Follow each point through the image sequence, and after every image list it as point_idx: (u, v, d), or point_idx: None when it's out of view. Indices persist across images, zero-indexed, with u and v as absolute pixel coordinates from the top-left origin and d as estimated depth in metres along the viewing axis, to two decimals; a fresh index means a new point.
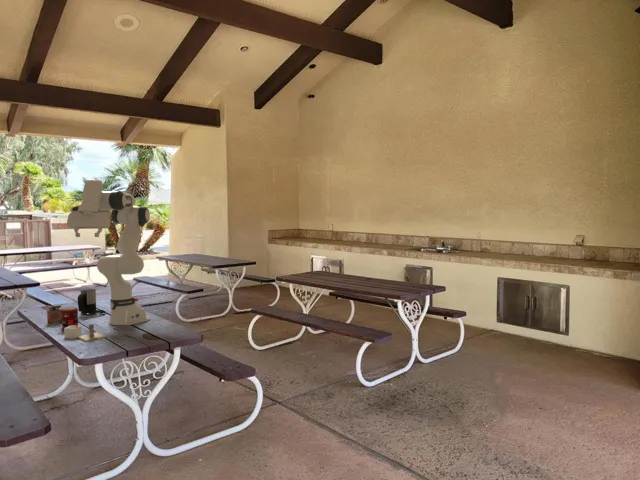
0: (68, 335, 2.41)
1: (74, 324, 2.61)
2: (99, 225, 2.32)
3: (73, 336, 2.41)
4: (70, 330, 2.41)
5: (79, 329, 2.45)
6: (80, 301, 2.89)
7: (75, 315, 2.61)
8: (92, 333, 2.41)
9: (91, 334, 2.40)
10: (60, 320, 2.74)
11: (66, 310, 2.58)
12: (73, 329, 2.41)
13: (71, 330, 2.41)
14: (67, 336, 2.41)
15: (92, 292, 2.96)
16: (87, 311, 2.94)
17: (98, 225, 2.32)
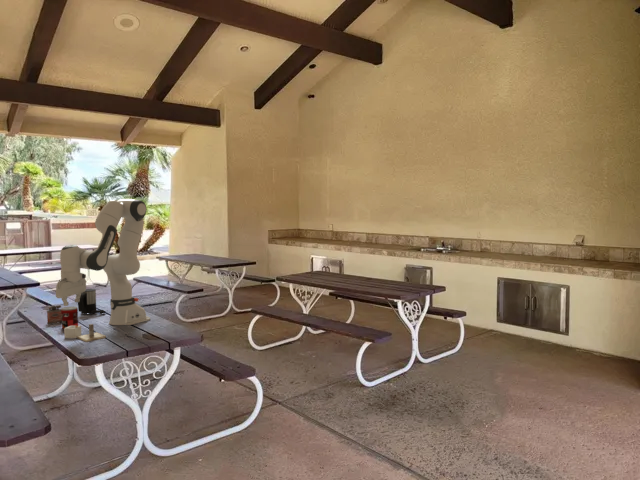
0: (68, 335, 2.41)
1: (74, 324, 2.61)
2: None
3: (73, 336, 2.41)
4: (70, 330, 2.41)
5: (79, 329, 2.45)
6: (80, 301, 2.89)
7: (75, 315, 2.61)
8: (92, 333, 2.41)
9: (91, 334, 2.40)
10: (60, 320, 2.74)
11: (66, 310, 2.58)
12: (73, 329, 2.41)
13: (71, 330, 2.41)
14: (67, 336, 2.41)
15: (92, 292, 2.96)
16: (87, 311, 2.94)
17: None
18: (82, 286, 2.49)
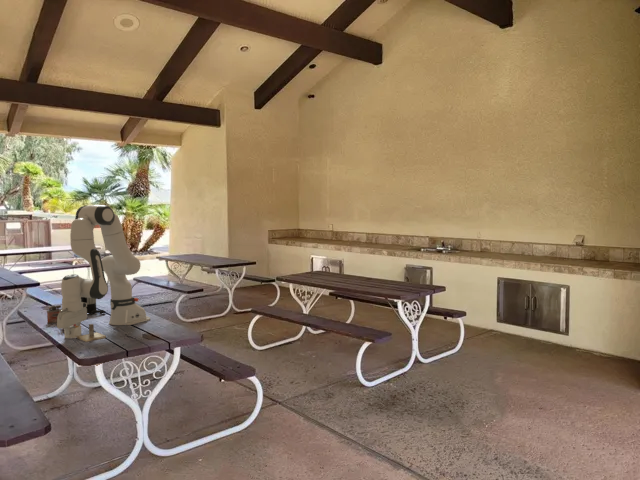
0: (68, 335, 2.41)
1: None
2: None
3: (73, 336, 2.41)
4: (70, 330, 2.41)
5: (79, 329, 2.45)
6: None
7: None
8: (92, 333, 2.41)
9: (91, 334, 2.40)
10: None
11: None
12: (73, 329, 2.41)
13: (71, 330, 2.41)
14: (67, 336, 2.41)
15: None
16: (87, 311, 2.94)
17: None
18: (83, 315, 2.50)
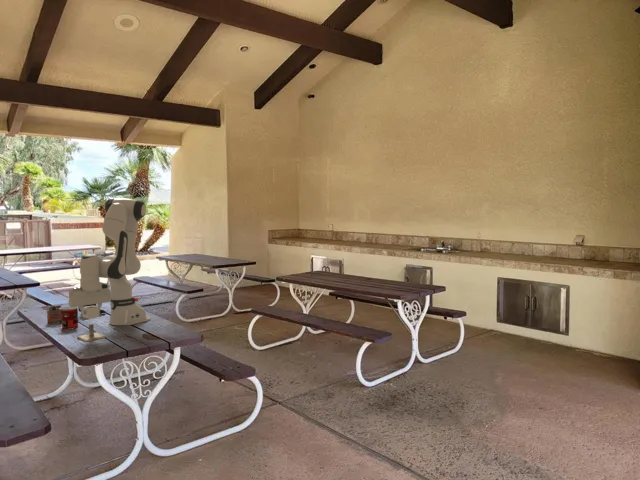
0: (84, 314, 2.38)
1: (74, 324, 2.61)
2: None
3: (87, 316, 2.37)
4: (85, 309, 2.37)
5: (95, 310, 2.39)
6: None
7: (75, 315, 2.61)
8: (92, 333, 2.41)
9: (91, 334, 2.40)
10: (60, 320, 2.74)
11: (66, 310, 2.58)
12: (87, 309, 2.36)
13: (86, 310, 2.37)
14: (84, 315, 2.39)
15: None
16: None
17: None
18: (105, 296, 2.44)
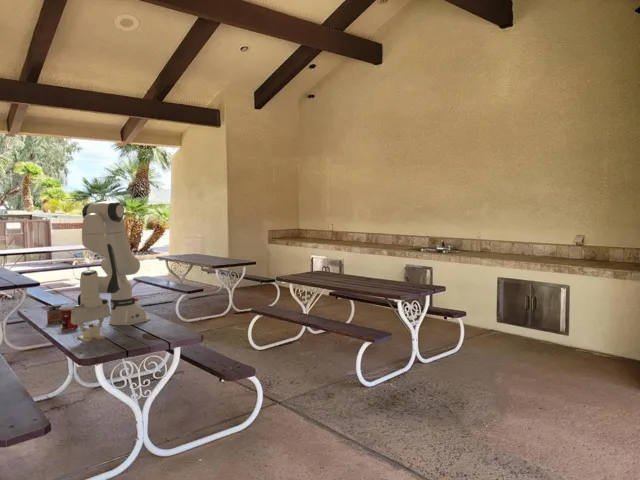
0: (85, 334, 2.39)
1: None
2: None
3: (89, 336, 2.38)
4: (87, 329, 2.38)
5: (97, 329, 2.41)
6: (80, 301, 2.89)
7: None
8: None
9: None
10: (60, 320, 2.74)
11: (66, 310, 2.58)
12: (89, 329, 2.37)
13: (88, 330, 2.38)
14: (85, 335, 2.39)
15: None
16: None
17: None
18: (105, 312, 2.46)
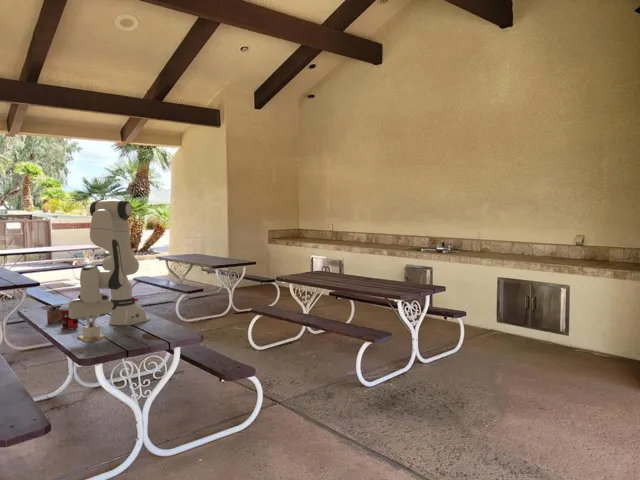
0: (85, 334, 2.39)
1: (74, 324, 2.61)
2: None
3: (89, 336, 2.38)
4: (87, 329, 2.38)
5: (97, 329, 2.41)
6: None
7: None
8: None
9: None
10: (60, 320, 2.74)
11: (66, 310, 2.58)
12: (89, 329, 2.37)
13: (88, 330, 2.38)
14: (85, 335, 2.39)
15: None
16: None
17: None
18: (105, 307, 2.44)
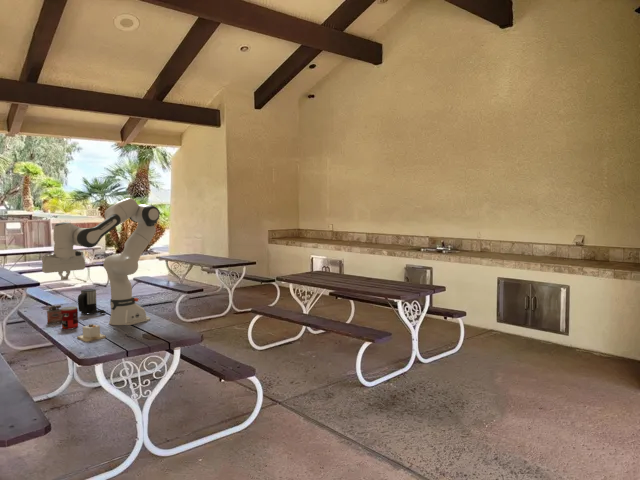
0: (85, 334, 2.39)
1: (74, 324, 2.61)
2: None
3: (89, 336, 2.38)
4: (87, 329, 2.38)
5: (97, 329, 2.41)
6: (80, 301, 2.89)
7: (75, 315, 2.61)
8: None
9: None
10: (60, 320, 2.74)
11: (66, 310, 2.58)
12: (89, 329, 2.37)
13: (88, 330, 2.38)
14: (85, 335, 2.39)
15: (92, 292, 2.96)
16: (87, 311, 2.95)
17: None
18: (79, 264, 2.50)
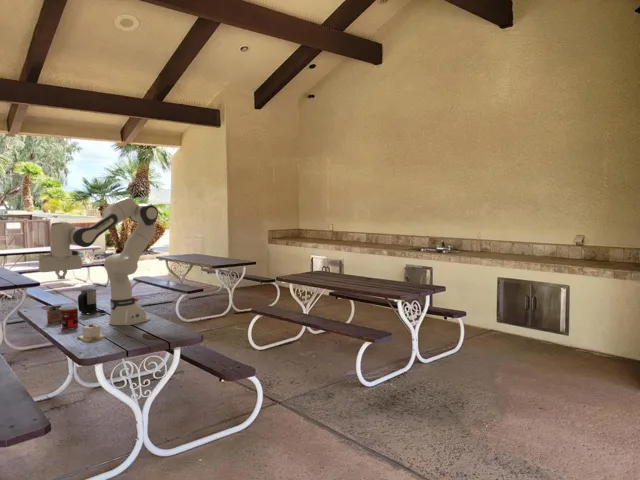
0: (85, 334, 2.39)
1: (74, 324, 2.61)
2: None
3: (89, 336, 2.38)
4: (87, 329, 2.38)
5: (97, 329, 2.41)
6: (80, 301, 2.89)
7: (75, 315, 2.61)
8: None
9: None
10: (60, 320, 2.74)
11: (66, 310, 2.58)
12: (89, 329, 2.37)
13: (88, 330, 2.38)
14: (85, 335, 2.39)
15: (92, 292, 2.96)
16: (87, 311, 2.95)
17: None
18: (76, 263, 2.50)
